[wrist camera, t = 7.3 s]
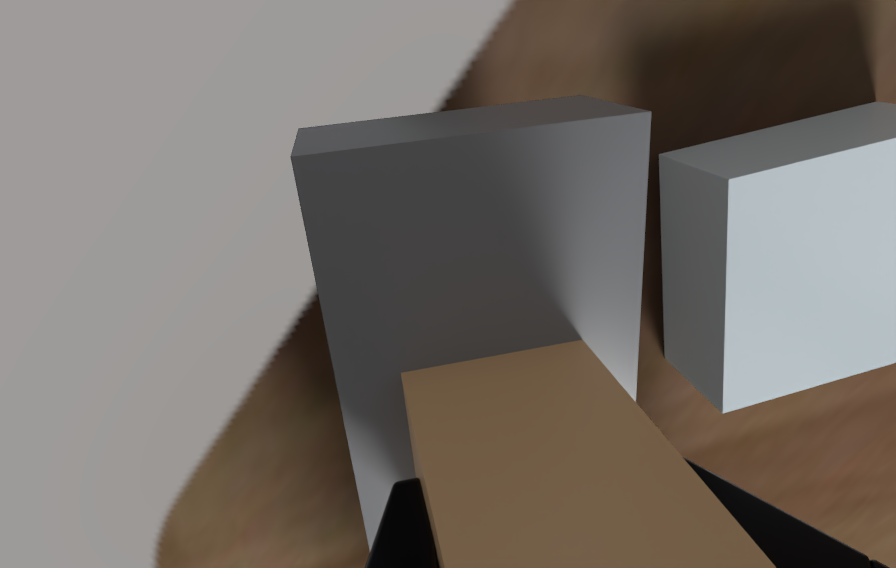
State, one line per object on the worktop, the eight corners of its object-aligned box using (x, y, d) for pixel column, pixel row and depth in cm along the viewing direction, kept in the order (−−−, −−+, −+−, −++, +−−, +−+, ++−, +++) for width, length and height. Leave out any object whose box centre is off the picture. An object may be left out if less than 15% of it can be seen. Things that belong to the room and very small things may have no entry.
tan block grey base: (580, 94, 10) (1803, 377, 2) (578, 510, 14) (946, 1200, 6) (298, 128, 10) (88, 849, 1) (380, 555, 14) (471, 1411, 5)
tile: (866, 100, 15) (986, 115, 12) (842, 302, 18) (936, 350, 15) (652, 152, 14) (728, 179, 12) (658, 353, 17) (722, 413, 14)
